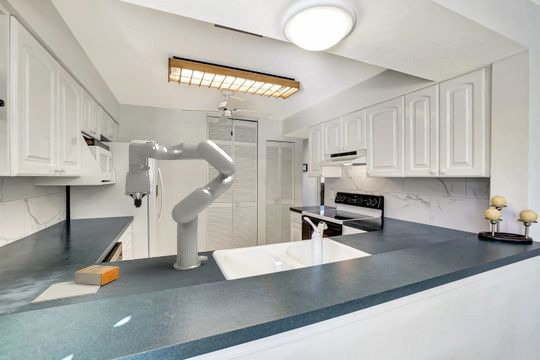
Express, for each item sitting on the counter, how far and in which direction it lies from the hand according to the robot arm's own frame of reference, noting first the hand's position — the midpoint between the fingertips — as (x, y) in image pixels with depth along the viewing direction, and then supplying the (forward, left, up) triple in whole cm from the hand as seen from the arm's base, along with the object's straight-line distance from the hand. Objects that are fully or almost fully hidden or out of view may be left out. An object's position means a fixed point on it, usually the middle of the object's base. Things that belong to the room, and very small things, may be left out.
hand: (138, 207), depth 114 cm
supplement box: (+8, +15, -26) cm, 31 cm away
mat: (+20, +16, -29) cm, 39 cm away
